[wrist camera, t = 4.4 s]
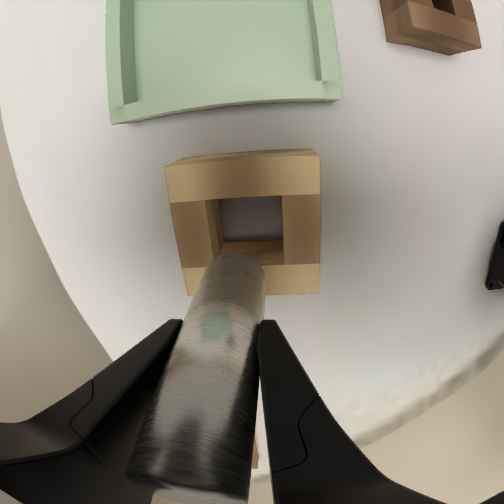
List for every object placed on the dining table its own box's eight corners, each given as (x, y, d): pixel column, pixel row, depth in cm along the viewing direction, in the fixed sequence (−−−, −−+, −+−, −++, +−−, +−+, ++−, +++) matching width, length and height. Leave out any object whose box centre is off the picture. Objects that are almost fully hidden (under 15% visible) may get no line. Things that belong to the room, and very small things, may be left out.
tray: (309, -59, 10) (312, -76, 7) (332, 101, 15) (342, 98, 13) (125, -30, 11) (110, -41, 9) (129, 123, 16) (111, 124, 14)
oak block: (311, 148, 17) (319, 155, 13) (312, 265, 20) (318, 293, 17) (183, 158, 17) (164, 167, 14) (200, 268, 21) (188, 296, 18)
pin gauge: (264, 252, 10) (239, 484, 3) (267, 306, 11) (252, 512, 4) (199, 254, 11) (104, 458, 3) (208, 306, 12) (150, 496, 4)
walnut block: (437, -3, 10) (464, -18, 7) (449, 55, 12) (481, 48, 9) (375, -19, 11) (395, -42, 7) (386, 41, 13) (412, 26, 9)
